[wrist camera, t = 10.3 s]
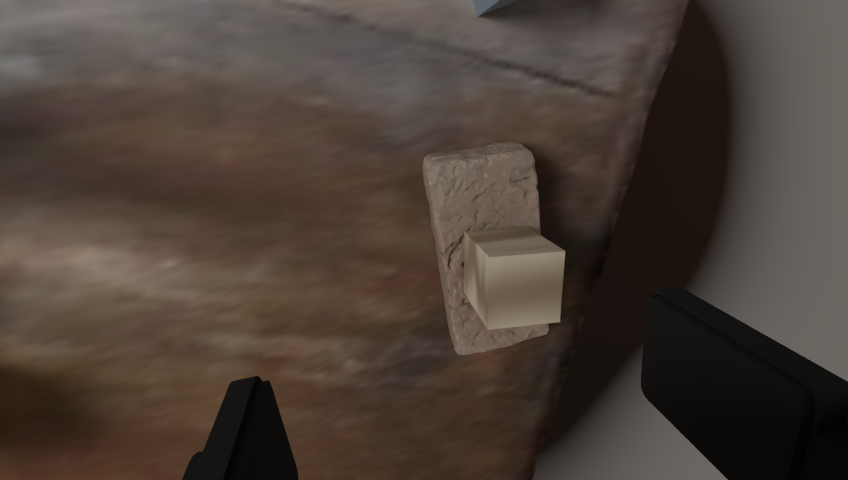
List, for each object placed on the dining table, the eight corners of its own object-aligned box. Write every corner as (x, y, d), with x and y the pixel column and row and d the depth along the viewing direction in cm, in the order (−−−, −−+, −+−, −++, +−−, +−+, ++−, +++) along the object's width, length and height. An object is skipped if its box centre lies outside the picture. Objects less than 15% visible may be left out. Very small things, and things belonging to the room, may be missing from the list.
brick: (416, 155, 34) (426, 162, 29) (515, 137, 35) (539, 141, 30) (446, 333, 39) (458, 362, 35) (530, 313, 40) (553, 338, 36)
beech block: (464, 231, 32) (489, 257, 26) (527, 226, 32) (565, 251, 27) (464, 292, 33) (487, 329, 27) (524, 286, 34) (559, 321, 28)
